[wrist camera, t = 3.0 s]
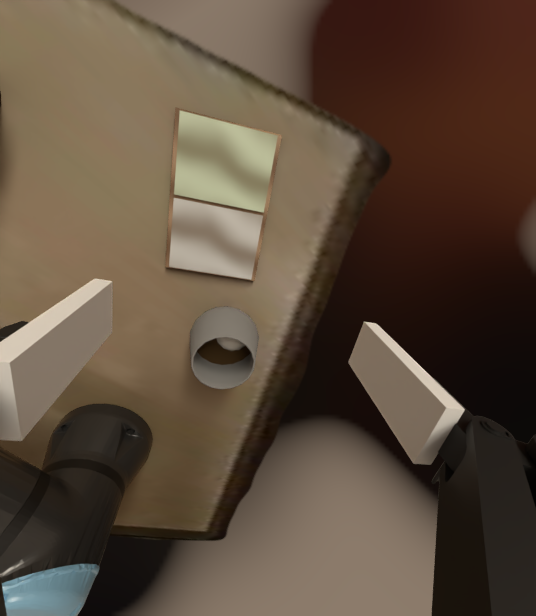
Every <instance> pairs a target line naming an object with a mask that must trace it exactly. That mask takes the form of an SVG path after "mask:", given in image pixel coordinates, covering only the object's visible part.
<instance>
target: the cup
mask: <svg viewBox="0 0 536 616" xmlns="http://www.w3.org/2000/svg"><path fill="white" fill-rule="evenodd" d="M258 339H259V336H258V332H257V328H256V325H255V323H254V322H253V321H252V319H251V318H250V316H249V315H247V314H246V313H244V312H242V311H241V310H239V309H236V308H232V307H228V306H227V307H215V308H213V309H211V310H208V311H206V312H204V313H203V314H202V315H201V316H200V317H199V318H198V319H196V321H195V323H194V325H193V327H192V329H191V331H190V356H191V367H192V370H193V373H194V375H195V377H196V378H197V379H198V380H199V381H200V382H201V383H203V384H205V385H207V386H209V387H210V388H216V389H230V388H234V387H236V386H239V385H241V384H242V383H244V382H245V381H246V380H247V379H249V377H250V376H251V374H252V372H253V371H254V366H255V359H256V352H257V346H258Z"/></svg>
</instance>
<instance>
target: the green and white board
mask: <svg viewBox="0 0 536 616" xmlns="http://www.w3.org/2000/svg"><path fill="white" fill-rule="evenodd" d="M281 138H282V135H279V134H275V133H271V132H267V131H263V130H260V129H256V128H252V127H248V126H244V125H240V124H237V123H233V122H229V121H225V120H221V119H217V118H214V117H210V116H206V115H202V114H198V113H194V112H191V111H187V110H183V109H179V108H176V110H175V125H174V141H173V157H172V172H171V188H170V203H169V219H168V235H167V250H166V266H165V267H168V268H175V269H181V270H188V271H194V272H200V273H207V274H213V275H220V276H226V277H232V278H239V279H245V280H252V281H254V280H255V275H256V270H257V265H258V259H259V254H260V249H261V243H262V238H263V233H264V228H265V222H266V217H267V212H268V206H269V201H270V196H271V191H272V185H273V180H274V175H275V169H276V164H277V159H278V154H279V148H280V143H281Z"/></svg>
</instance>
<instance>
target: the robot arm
mask: <svg viewBox="0 0 536 616" xmlns="http://www.w3.org/2000/svg"><path fill="white" fill-rule="evenodd" d="M111 333H112V281H107V280H101V279H93V280H92V281H90V282H89V283H88V284H86V285H85V286H83V287H82V288H80V289H79V290H77V291H76V292H74V293H73V294H71V295H70V296H68V297H67V298H65V299H64V300H62V301H61V302H59V303H58V304H56V305H55V306H53V307H52V308H50V309H49V310H47V311H46V312H44V313H43V314H41V315H40V316H38V317H37V318H35V319H34V320H32V321H31V322H24V321H21V322H18V323H15V324H12V325H9V326H6V327H4V328H2V329H0V440H11V441H22V440H23V439H24V438H25V437H26V435H27V434H28V433H29V432H30V431H31V429H32V428H33V427H34V426H35V425H36V423H37V422H38V421H39V420H40V419H41V417H42V416H43V415H44V414H45V413H46V411H47V410H48V409H49V408H50V406H51V405H52V404H53V403H54V402H55V400H56V399H57V398H58V397H59V396H60V394H61V393H62V392H63V391H64V390H65V388H66V387H67V386H68V385H69V384H70V382H71V381H72V380H73V379H74V378H75V376H76V375H77V374H78V373H79V371H80V370H81V369H82V368H83V367H84V365H85V364H86V363H87V362H88V361H89V359H90V358H91V357H92V356H93V355H94V353H95V352H96V351H97V350H98V349H99V347H100V346H101V345H102V344H103V343H104V341H105V340H106V339H107V338H108V337H109V335H110V334H111ZM348 363H349V364H350V366H351V367H352V369H353V371H354V372H355V374H356V375H357V377H358V378H359V380H360V381H361V383H362V385H363V386H364V388H365V389H366V391H367V392H368V394H369V395H370V397H371V398H372V400H373V402H374V403H375V405H376V406H377V408H378V409H379V411H380V412H381V414H382V415H383V417H384V418H385V420H386V422H387V423H388V425H389V426H390V428H391V429H392V431H393V433H394V434H395V436H396V437H397V439H398V440H399V442H400V443H401V445H402V446H403V448H404V449H405V451H406V453H407V454H408V456H409V457H410V459H411V460H412V462H413V463H414V464H429V465H431V464H432V462H433V460H434V459H435V457H436V455H437V454H438V453H439V454H440V455H441V457H442V458H443V459H444V463H443V464H442V466H441V467H440V469H439V470H438V472H437V474H436V475H435V477H434V478H433V480H432V482H431V483H433V484H435V483H436V481H439V497H438V514H437V531H436V549H435V566H434V584H433V601H432V616H536V435H534V436H533V438H532V439H531V440H530V441H529V443H528V444H526V443H523V442H520V441H517V440H515V439H514V438H513V436H512V435H511V434H510V433H509V432H508V431H507V430H506V429H505V428H503V427H502V426H500V425H499V424H497V423H495V422H493V421H492V420H490V419H487V418H485V417H481V416H473V415H472V414H471V413H470V412H469V411H468V410H467V409H465V407H463V406H462V405H461V404H460V403H459V402H458V401H457V400H456V399H455V398H454V397H453V396H452V395H450V393H449V392H448V391H447V390H446V389H444V387H443V386H442V385H441V384H440V383H439V382H438V381H437V380H435V379H434V378H432V377H431V376H430V375H429V374H427V372H426V371H425V370H424V369H423V368H422V367H421V366H420V365H419V364H417V363H416V362H415V361H414V360H413V359H412V358H411V357H410V356H409V355H408V354H407V353H406V352H405V351H404V350H403V349H402V348H401V347H400V346H399V345H398V344H397V343H396V342H395V341H394V340H393V339H391V337H389V335H388V334H386V333H385V332H384V331H383V330H382V329H381V328H380V327H379V326H378V325H377V324H375V323H368V322H364V324H363V326H362V329H361V331H360V334H359V336H358V339H357V342H356V344H355V347H354V350H353V352H352V355H351V357H350V360H349V362H348ZM151 445H152V433H151V430H150V428H149V426H148V425H147V423H146V422H145V421H144V420H143V419H142V418H141V417H140V416H138V415H137V414H135V413H134V412H132V411H130V410H128V409H125V408H123V407H119V406H115V405H109V404H92V405H86V406H83V407H80V408H77V409H75V410H73V411H71V412H70V413H68V414H67V415H66V416H65V417H64V418H63V419H62V420H61V421H60V423H59V424H58V425H57V427H56V428H55V430H54V431H53V433H52V435H51V437H50V441H49V445H48V448H47V452H46V456H45V459H44V463H43V467H42V470H40V469H38V468H36V467H35V466H33V465H31V464H29V463H28V462H26V461H24V460H22V459H20V458H19V457H17V456H15V455H13V454H11V453H10V452H8V451H6V450H4V449H3V448H1V447H0V616H77V615H78V614H79V612H80V610H81V609H82V607H83V605H84V603H85V600H86V598H87V596H88V593H89V591H90V588H91V586H92V584H93V581H94V579H95V576H96V575H97V573H98V572H99V565H100V562H101V558H102V556H103V553H104V550H105V547H106V544H107V541H108V538H109V535H110V532H111V529H112V527H113V524H114V521H115V518H116V515H117V512H118V509H119V506H120V503H121V500H122V497H123V494H124V492H125V489H126V488H127V486H128V485H129V484H130V482H131V481H132V480H133V478H134V477H135V475H136V474H137V473H138V471H139V470H140V469H141V467H142V466H143V464H144V463H145V461H146V460H147V457H148V455H149V452H150V449H151Z"/></svg>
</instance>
